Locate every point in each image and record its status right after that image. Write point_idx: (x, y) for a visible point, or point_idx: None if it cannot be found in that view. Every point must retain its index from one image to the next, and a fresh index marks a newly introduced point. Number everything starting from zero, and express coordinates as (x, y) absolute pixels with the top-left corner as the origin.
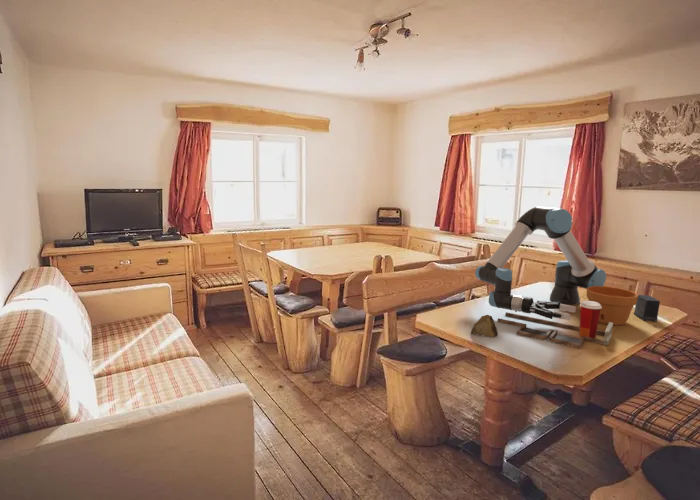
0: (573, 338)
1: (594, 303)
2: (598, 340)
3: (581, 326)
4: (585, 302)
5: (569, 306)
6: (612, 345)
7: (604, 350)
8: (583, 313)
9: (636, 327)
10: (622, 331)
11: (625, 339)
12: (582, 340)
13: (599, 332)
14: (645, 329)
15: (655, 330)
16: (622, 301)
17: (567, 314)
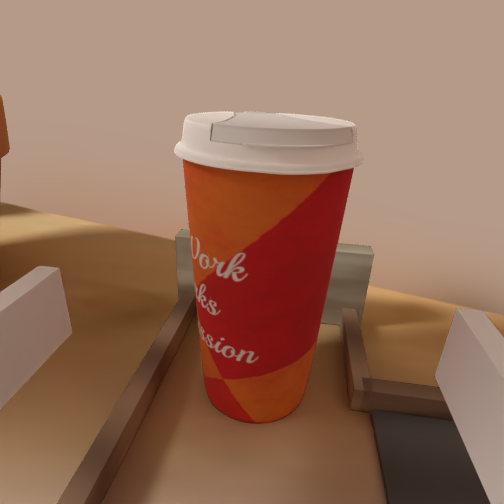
0: (410, 463)
1: (264, 116)
2: (358, 328)
3: (298, 353)
4: (277, 124)
5: (9, 316)
6: None
7: (443, 328)
8: (329, 235)
9: (26, 239)
10: (94, 268)
11: None
12: None
13: (184, 321)
14: (51, 228)
15: (59, 216)
16: (4, 124)
17: (493, 336)
